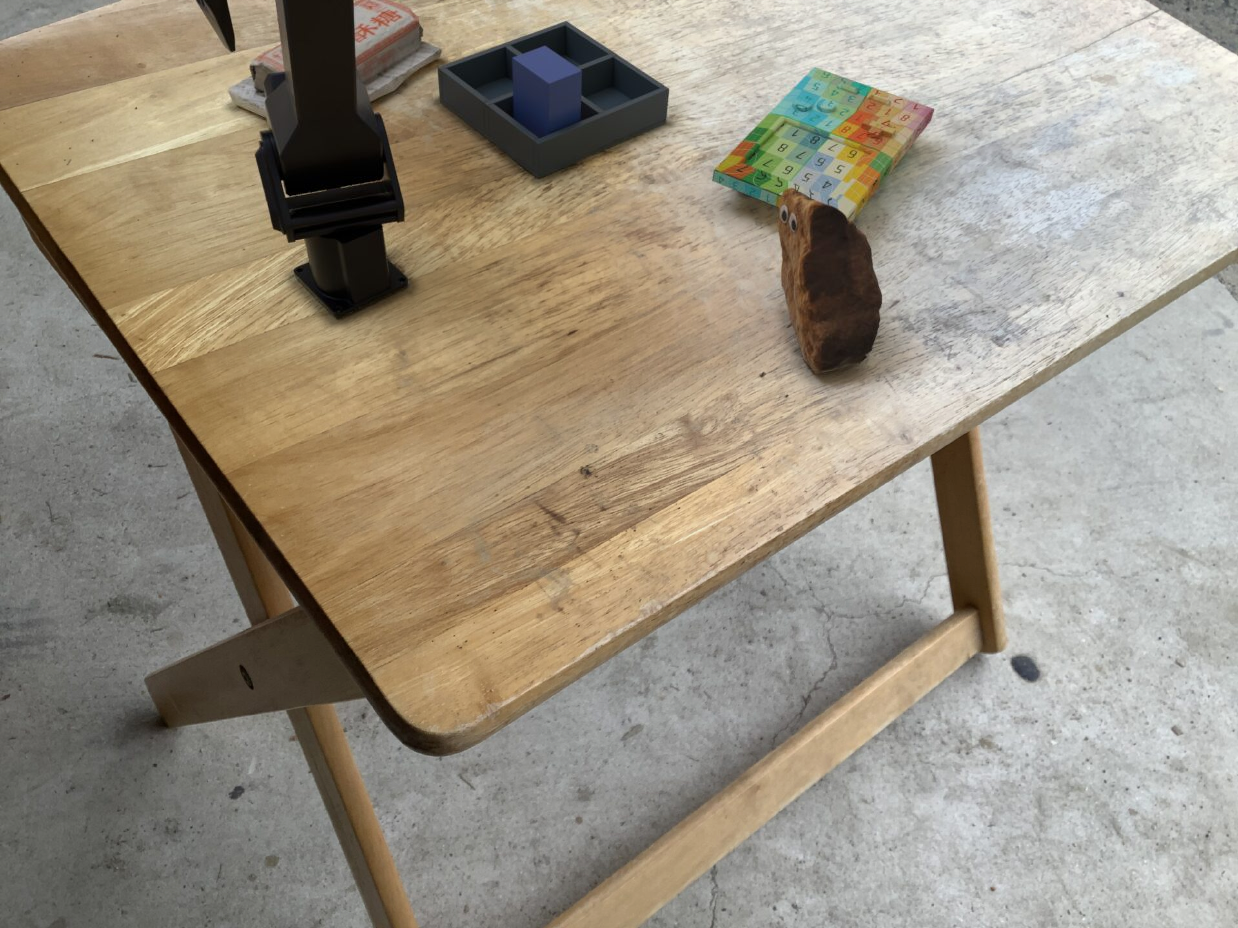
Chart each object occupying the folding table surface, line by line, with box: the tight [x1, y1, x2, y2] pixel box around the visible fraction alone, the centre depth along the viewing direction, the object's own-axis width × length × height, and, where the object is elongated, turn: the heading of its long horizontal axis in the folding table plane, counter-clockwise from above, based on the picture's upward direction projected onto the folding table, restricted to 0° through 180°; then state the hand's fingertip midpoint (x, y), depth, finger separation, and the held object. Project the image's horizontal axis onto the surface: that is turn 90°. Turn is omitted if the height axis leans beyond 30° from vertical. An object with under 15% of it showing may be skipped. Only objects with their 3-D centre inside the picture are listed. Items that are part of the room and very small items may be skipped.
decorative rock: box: [777, 188, 883, 375], centre depth 79 cm, size 12×6×11 cm, turn 11°
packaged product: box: [227, 0, 443, 119], centre depth 100 cm, size 18×5×10 cm
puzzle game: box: [711, 67, 935, 222], centre depth 94 cm, size 12×5×20 cm
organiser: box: [437, 20, 670, 180], centre depth 99 cm, size 15×15×4 cm
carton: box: [512, 46, 582, 138], centre depth 94 cm, size 5×4×7 cm
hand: (285, 32), depth 84 cm, fingers open, 9 cm apart
